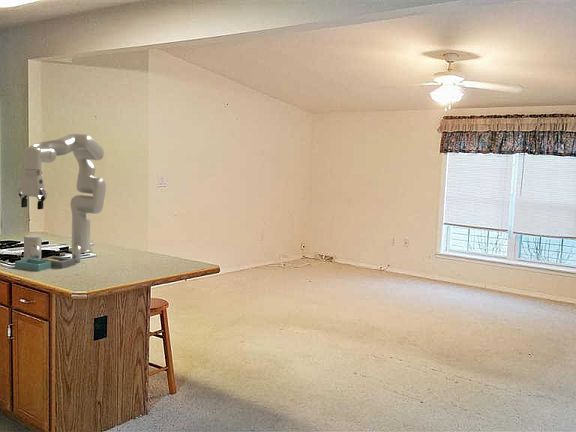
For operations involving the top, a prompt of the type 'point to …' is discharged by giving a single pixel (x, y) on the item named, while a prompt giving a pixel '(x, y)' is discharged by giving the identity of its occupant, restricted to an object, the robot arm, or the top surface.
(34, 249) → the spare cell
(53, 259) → the gray tray
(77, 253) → the steel cell
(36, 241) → the cup
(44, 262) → the trough
